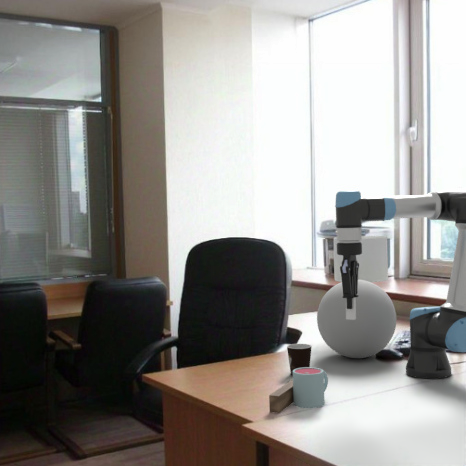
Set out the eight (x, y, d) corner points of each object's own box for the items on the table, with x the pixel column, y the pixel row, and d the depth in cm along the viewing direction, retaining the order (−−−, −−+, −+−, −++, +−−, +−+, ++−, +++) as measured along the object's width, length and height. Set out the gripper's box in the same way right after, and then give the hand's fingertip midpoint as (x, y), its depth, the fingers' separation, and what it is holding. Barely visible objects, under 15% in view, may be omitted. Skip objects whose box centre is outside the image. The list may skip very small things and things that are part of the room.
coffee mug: (311, 377, 245) (310, 348, 245) (286, 377, 247) (285, 348, 246) (314, 369, 256) (313, 342, 256) (290, 369, 258) (289, 341, 258)
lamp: (397, 337, 312) (394, 235, 310) (377, 347, 292) (375, 238, 291) (348, 333, 324) (346, 235, 322) (327, 342, 305) (324, 238, 303)
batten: (309, 390, 228) (308, 375, 228) (279, 413, 205) (278, 396, 205) (300, 389, 230) (299, 374, 229) (269, 412, 206) (269, 395, 206)
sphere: (314, 350, 290) (313, 276, 289) (389, 348, 289) (387, 274, 288) (321, 367, 260) (319, 285, 259) (404, 365, 259) (402, 283, 258)
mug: (311, 410, 207) (310, 376, 207) (287, 404, 214) (286, 371, 213) (340, 400, 217) (339, 367, 216) (316, 394, 223) (315, 363, 223)
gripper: (343, 240, 223) (345, 315, 224) (330, 243, 212) (332, 322, 213) (366, 240, 220) (368, 316, 221) (355, 243, 209) (357, 323, 209)
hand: (351, 319), depth 217 cm, fingers closed
